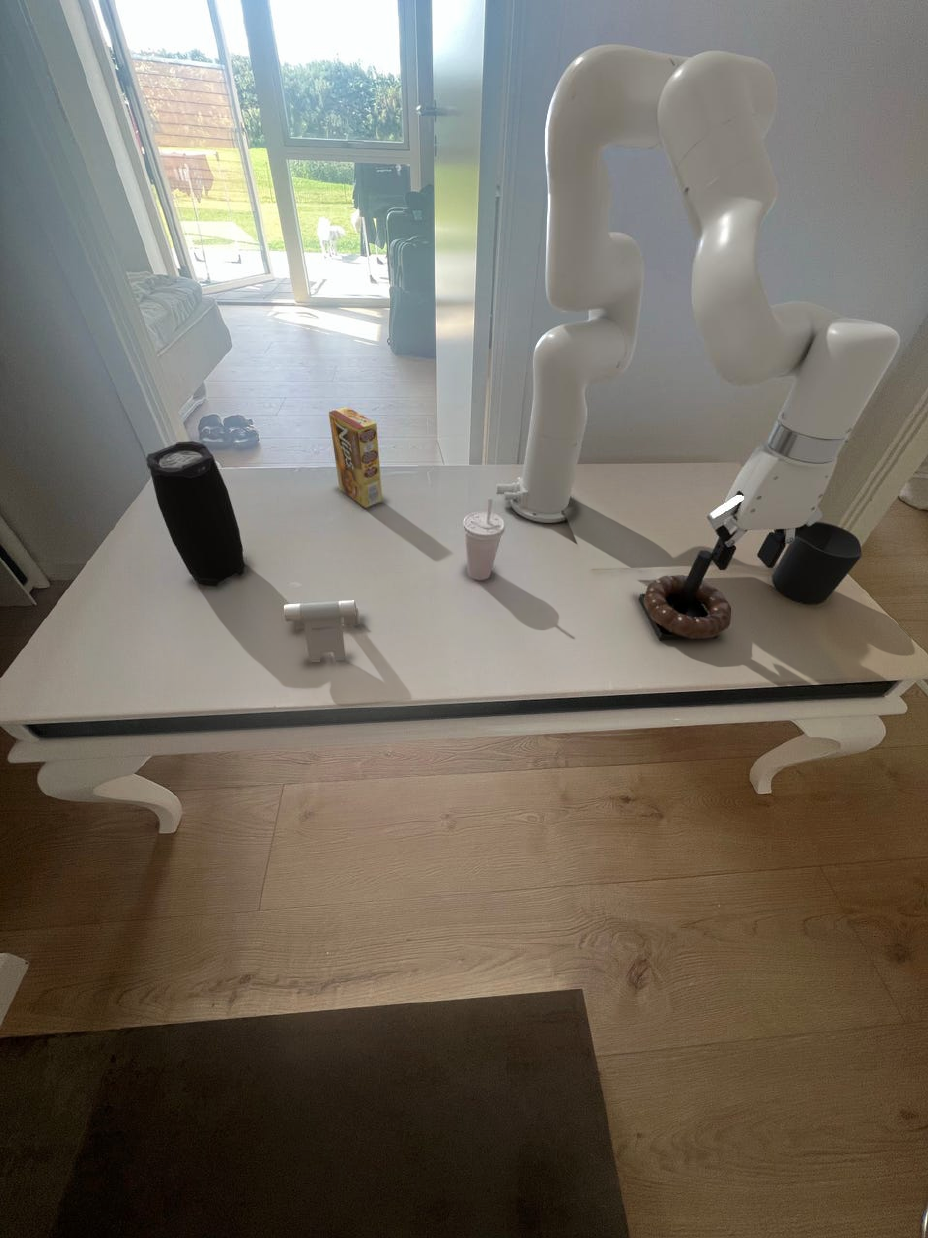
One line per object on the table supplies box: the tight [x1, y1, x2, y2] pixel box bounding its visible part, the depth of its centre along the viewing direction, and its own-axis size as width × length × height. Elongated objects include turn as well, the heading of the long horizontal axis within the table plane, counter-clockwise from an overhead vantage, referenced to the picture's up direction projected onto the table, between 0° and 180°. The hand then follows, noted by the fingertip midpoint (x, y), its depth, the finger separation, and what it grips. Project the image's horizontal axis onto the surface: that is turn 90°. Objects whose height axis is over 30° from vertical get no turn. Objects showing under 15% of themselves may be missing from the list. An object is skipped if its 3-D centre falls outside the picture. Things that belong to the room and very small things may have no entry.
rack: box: [638, 549, 720, 641], centre depth 76 cm, size 9×9×12 cm
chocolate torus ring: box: [644, 574, 732, 640], centre depth 78 cm, size 12×12×3 cm
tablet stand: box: [283, 599, 360, 663], centre depth 70 cm, size 9×8×8 cm
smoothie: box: [462, 496, 506, 581], centre depth 80 cm, size 6×6×14 cm
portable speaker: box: [146, 440, 246, 587], centre depth 75 cm, size 9×9×20 cm
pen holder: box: [771, 521, 863, 605], centre depth 83 cm, size 9×9×10 cm
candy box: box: [328, 406, 383, 509], centre depth 94 cm, size 9×4×15 cm, turn 44°
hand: (741, 562), depth 73 cm, fingers open, 6 cm apart
